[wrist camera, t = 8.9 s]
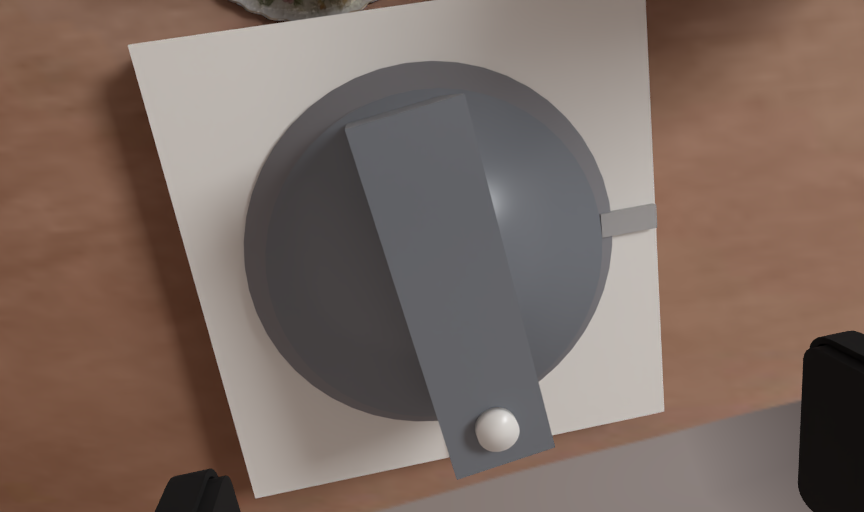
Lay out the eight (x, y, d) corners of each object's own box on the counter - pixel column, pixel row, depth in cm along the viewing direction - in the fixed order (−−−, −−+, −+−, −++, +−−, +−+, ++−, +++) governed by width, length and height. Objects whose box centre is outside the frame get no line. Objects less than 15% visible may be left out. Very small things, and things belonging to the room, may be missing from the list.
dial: (218, 145, 21) (165, 162, 15) (553, 46, 22) (627, 26, 16) (332, 440, 25) (325, 545, 19) (616, 348, 25) (694, 422, 19)
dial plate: (262, 470, 27) (254, 503, 25) (147, 50, 22) (124, 44, 20) (643, 390, 29) (667, 414, 27) (620, -20, 24) (648, -32, 21)
